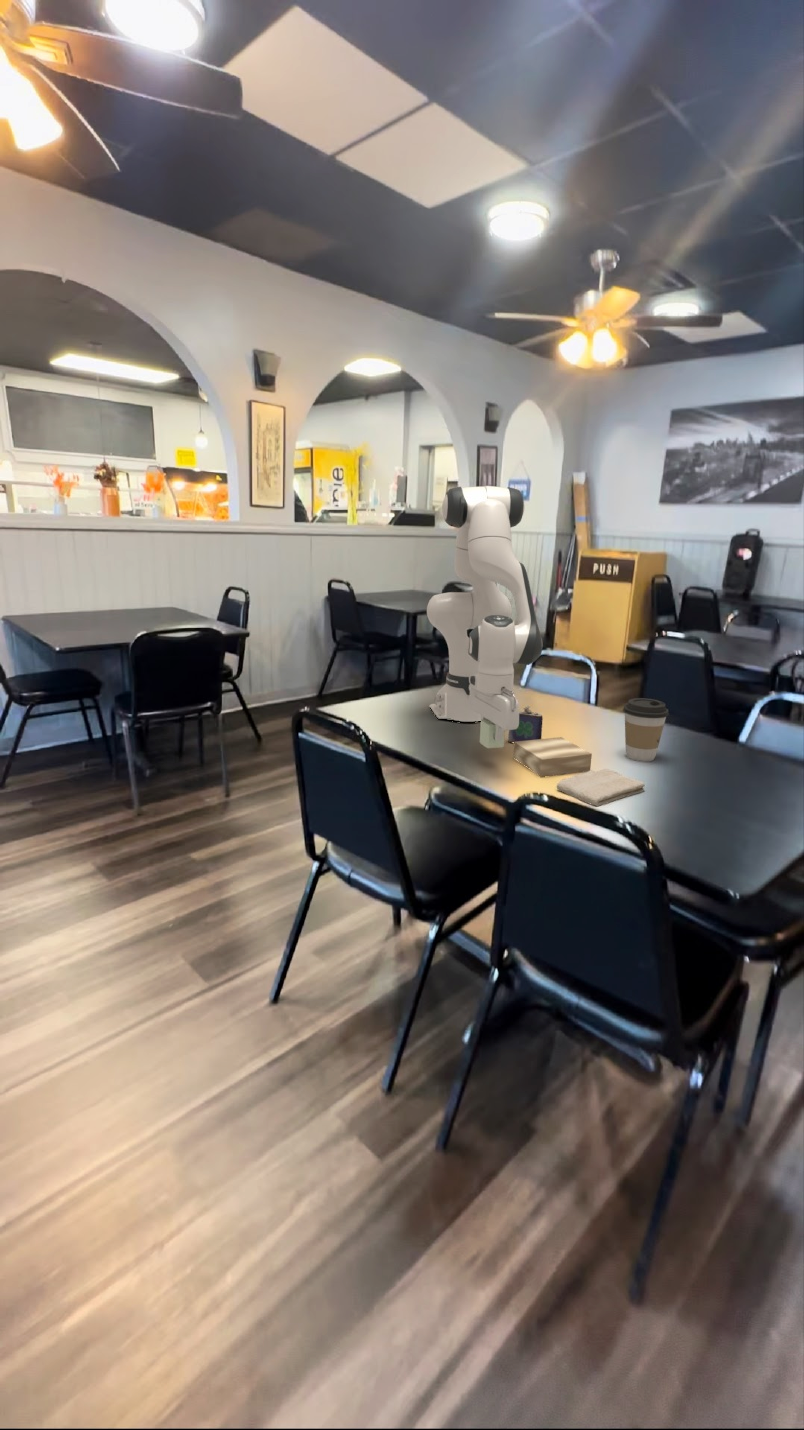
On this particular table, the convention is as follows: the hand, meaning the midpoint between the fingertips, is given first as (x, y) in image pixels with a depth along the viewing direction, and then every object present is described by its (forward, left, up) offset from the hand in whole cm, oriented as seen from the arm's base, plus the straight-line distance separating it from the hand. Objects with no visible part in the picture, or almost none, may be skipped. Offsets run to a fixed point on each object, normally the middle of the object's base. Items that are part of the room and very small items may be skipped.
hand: (492, 736), depth 168 cm
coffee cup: (+6, +41, -8) cm, 42 cm away
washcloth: (+23, +17, -8) cm, 30 cm away
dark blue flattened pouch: (-13, +17, -8) cm, 23 cm away
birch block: (+4, +15, -8) cm, 17 cm away
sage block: (0, 0, -2) cm, 2 cm away
